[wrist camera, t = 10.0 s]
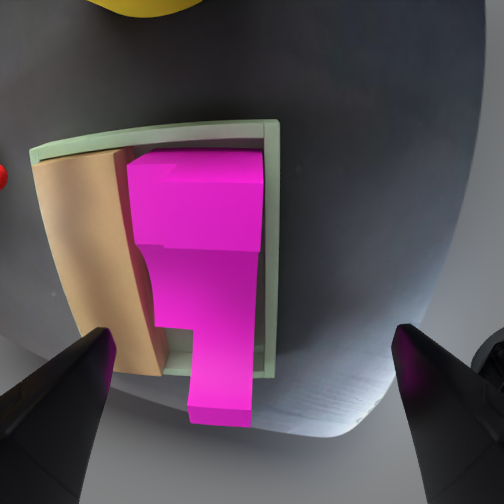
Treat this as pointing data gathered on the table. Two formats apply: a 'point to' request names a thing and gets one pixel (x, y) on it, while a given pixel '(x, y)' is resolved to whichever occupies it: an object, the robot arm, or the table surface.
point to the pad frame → (268, 140)
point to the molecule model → (3, 177)
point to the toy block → (204, 264)
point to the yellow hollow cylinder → (145, 6)
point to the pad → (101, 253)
